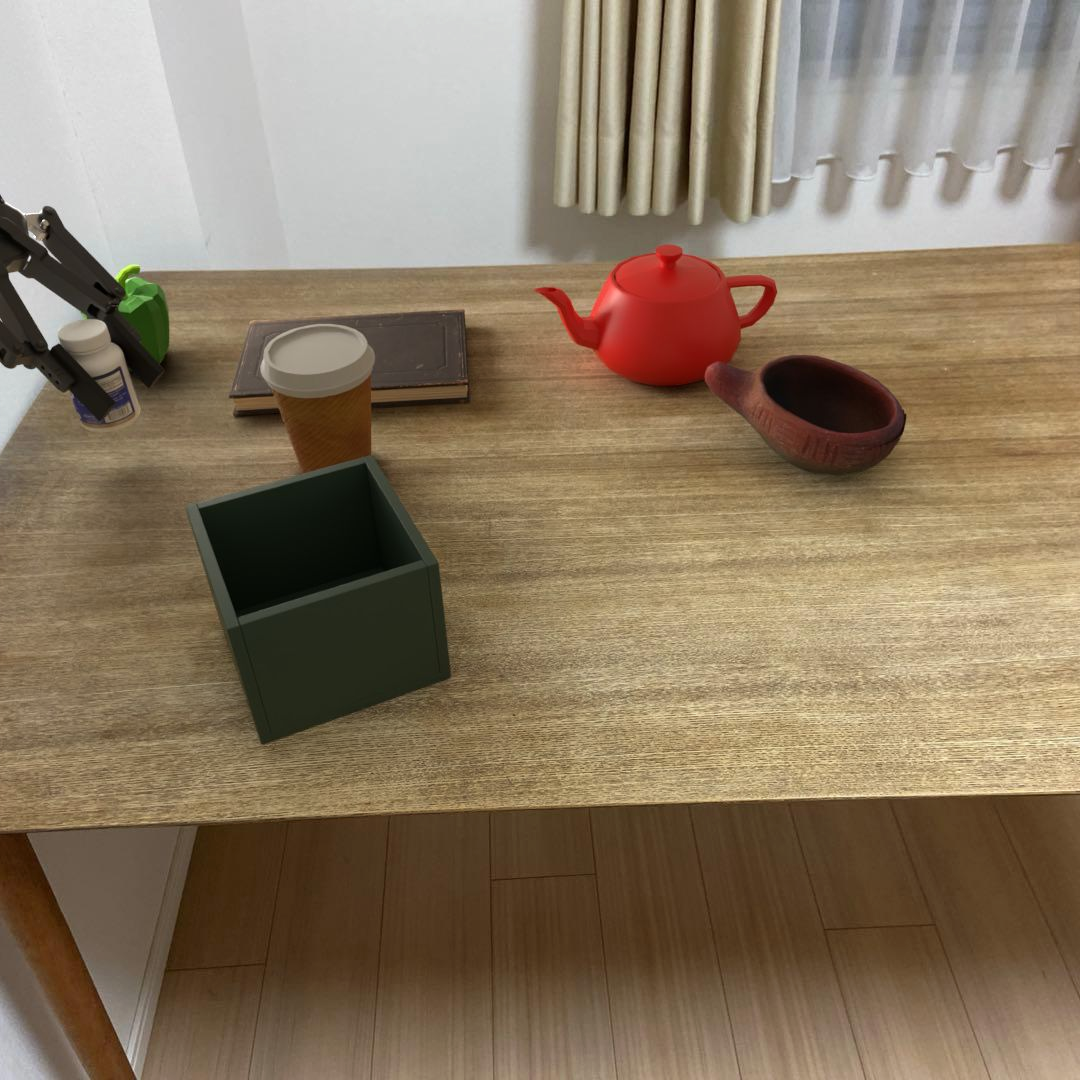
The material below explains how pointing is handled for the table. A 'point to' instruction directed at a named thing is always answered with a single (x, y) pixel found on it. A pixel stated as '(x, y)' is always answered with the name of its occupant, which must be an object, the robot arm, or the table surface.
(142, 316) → the bell pepper
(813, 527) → the table surface
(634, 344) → the teapot
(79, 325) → the pill bottle
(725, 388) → the bowl
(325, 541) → the waste bin
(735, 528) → the table surface
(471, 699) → the table surface
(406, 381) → the hardcover book
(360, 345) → the disposable coffee cup
